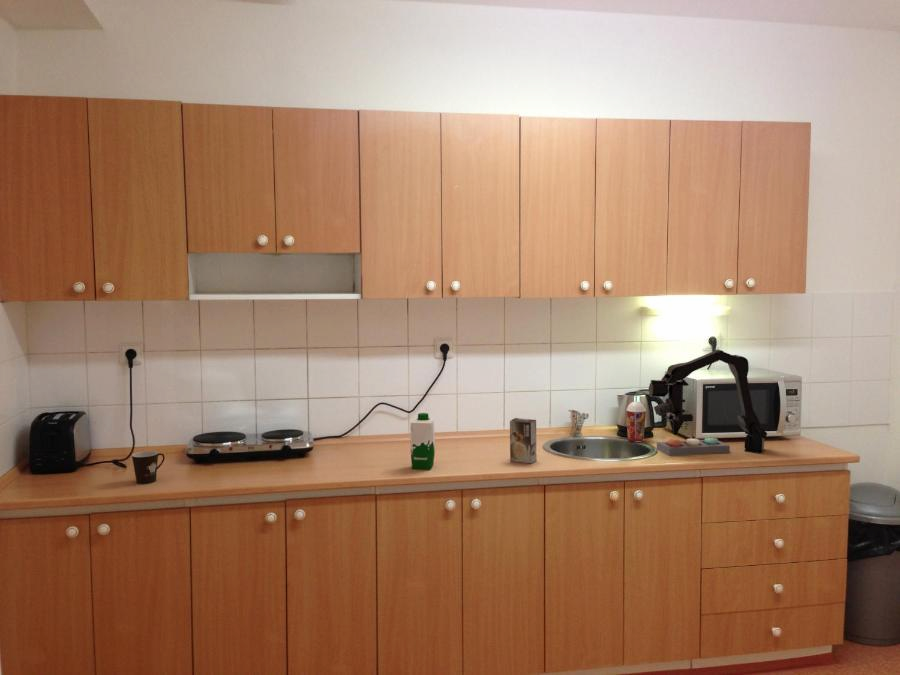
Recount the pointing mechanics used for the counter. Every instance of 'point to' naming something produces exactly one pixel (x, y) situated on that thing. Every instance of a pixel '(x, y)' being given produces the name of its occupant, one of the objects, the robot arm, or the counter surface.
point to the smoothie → (635, 420)
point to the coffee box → (523, 440)
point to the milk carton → (422, 442)
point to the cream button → (692, 442)
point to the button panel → (693, 448)
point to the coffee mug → (146, 466)
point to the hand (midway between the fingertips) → (674, 434)
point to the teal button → (711, 441)
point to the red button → (674, 443)
